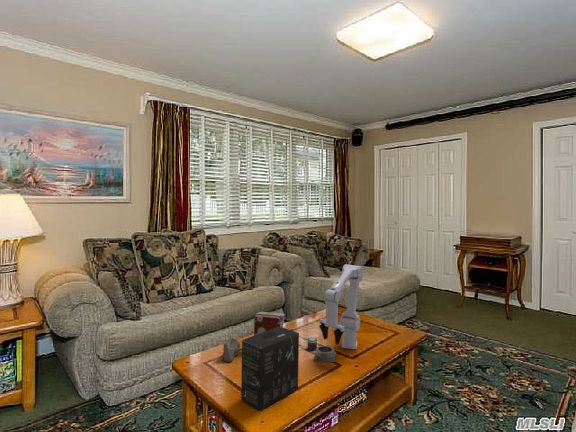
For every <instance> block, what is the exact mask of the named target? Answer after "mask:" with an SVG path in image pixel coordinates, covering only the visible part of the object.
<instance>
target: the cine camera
mask: <svg viewBox="0 0 576 432" xmlns="http://www.w3.org/2000/svg"><path fill="white" fill-rule="evenodd" d="M285 316H286V315H285V313H281V312H270V311H259V312H256V313H255V315H254V317H253V318H254V319H253V336H254V335H257V334H260V333H263V332H265V331H268V330H271V329H273V328H276V327H278V326H279V327H283V328H285V329H288V330H290V329H289V328H288V327H285V326H284V320H285Z"/></svg>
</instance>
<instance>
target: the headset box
mask: <svg viewBox="0 0 576 432" xmlns="http://www.w3.org/2000/svg"><path fill="white" fill-rule="evenodd" d="M283 327H284V326H283ZM283 327H279V326H278V327H276V328H273V329H271V330H268V331H265V332H263V333H260V334H257V335H254V334H253V335H251V336H250V337H249V336H248V337H246V338H244V339H242V340H241V384H240V385H241V388H240V389H241V391H240V392H241V393H240V399H241V400H242V401H243V402H245V403H246V404H248V405H249V406H251V407H253V408H254V409H257V410H258V411H262V410H264V409H265V408H267V407H268V406H269V407H270V405H273V403H275V402H277V401H279V400H280V399H283V398H285V397H286V396H287V395H289V394H290V393H293V391H296V390H297V389H298V388H299V355H300V354H299V353H300V350H299V348H300V347H299V346H300V345H299V344H300V333H299V332H298V331H294V330H292V329H289V328H287V329H285V328H286V327H284V328H283ZM288 329H289V330H288Z"/></svg>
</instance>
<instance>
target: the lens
mask: <svg viewBox="0 0 576 432" xmlns="http://www.w3.org/2000/svg"><path fill="white" fill-rule="evenodd" d="M306 347H307V350H308V351H312V352H314V351H315V352H316V348H317V347H318V339H317V338H316V337H308V338H307V346H306Z"/></svg>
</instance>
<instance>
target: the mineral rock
mask: <svg viewBox="0 0 576 432" xmlns="http://www.w3.org/2000/svg"><path fill="white" fill-rule="evenodd" d="M240 351H241V342H240V341H238V340H237V339H235V338H234V337H230V338H229V339H228V340H227V341H225V342H224V343H223V352H222V356H221V357H222V359H221V360H222V361H224V362H226V363H228V362H232V361H233V360H234V358H235V357H236V356H237V355H238V354H239V353H240Z"/></svg>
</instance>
